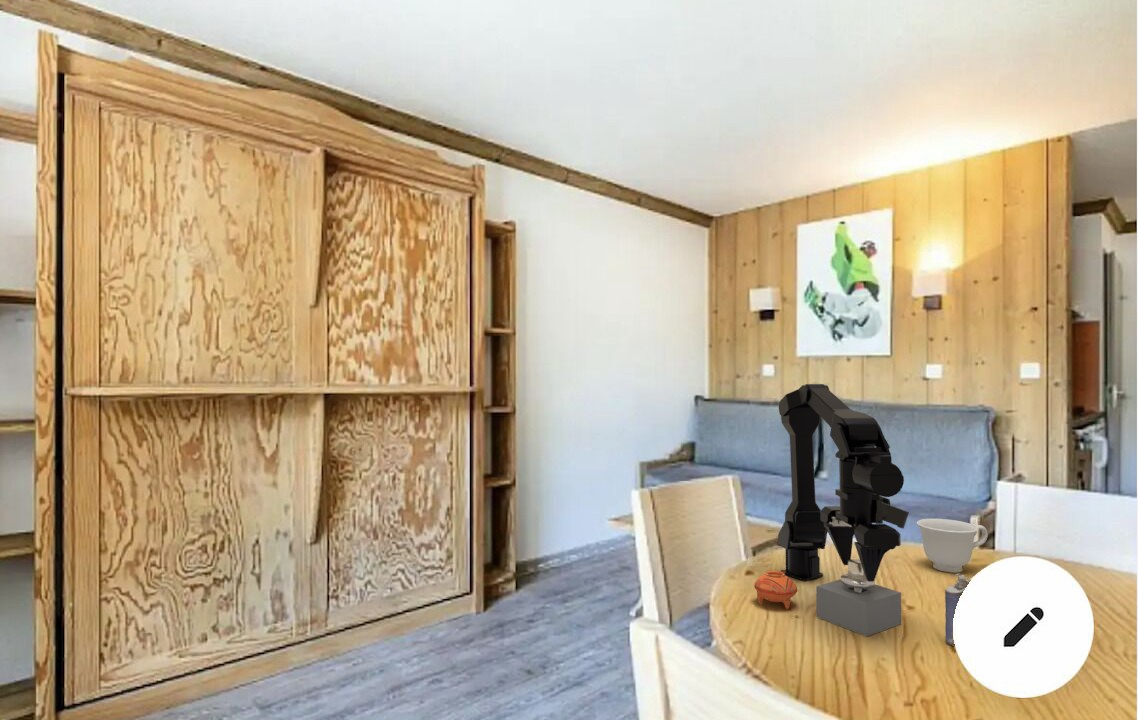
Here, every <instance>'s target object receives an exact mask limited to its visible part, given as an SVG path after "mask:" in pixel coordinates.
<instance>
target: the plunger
mask: <svg viewBox="0 0 1138 720" xmlns="http://www.w3.org/2000/svg"><path fill="white" fill-rule="evenodd" d="M840 579H841V582H842V583H843V584H845V585H847V586H850V587H854V591H856V592H859V593H861V592H862V588H873V587H875V584H876V579H875V580H874V581H873V582H869V581H867V579H866V576H865V574H864V571H863V568H862V565H861V562H860V559H854V558H853V559H852V558H851V560H848V565H847V573H845V574H841V576H840Z"/></svg>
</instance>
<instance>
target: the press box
mask: <svg viewBox="0 0 1138 720" xmlns="http://www.w3.org/2000/svg"><path fill="white" fill-rule="evenodd" d="M815 591H816V592H815V593H816V594H815V598H816V602H815V604H816V618H818V619H822V620H824V621H827V622H829V623H831V624H834V625H837V626H839V627H841V628H844V629H847V630H849V631H852V632H855V633H857V634H859V635H861V636H864V637H869V636H873V635H875V634H878V633H880V632H883V631H886V630H889V629H892V628H894V627H897V626H900V625H902V592H901V591H897V590H894V589H891V588H888V587H884V586H881V585H878V584H876V583H875V587H873V588H862V592H861V593H859V592H856V591H854V587H850V586H847V585H845V584H843V583H842V582H841V578H840V579H838V580H833V581H830V582H826V583H825V582H824V583H823V584H819V585H816V586H815Z"/></svg>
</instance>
